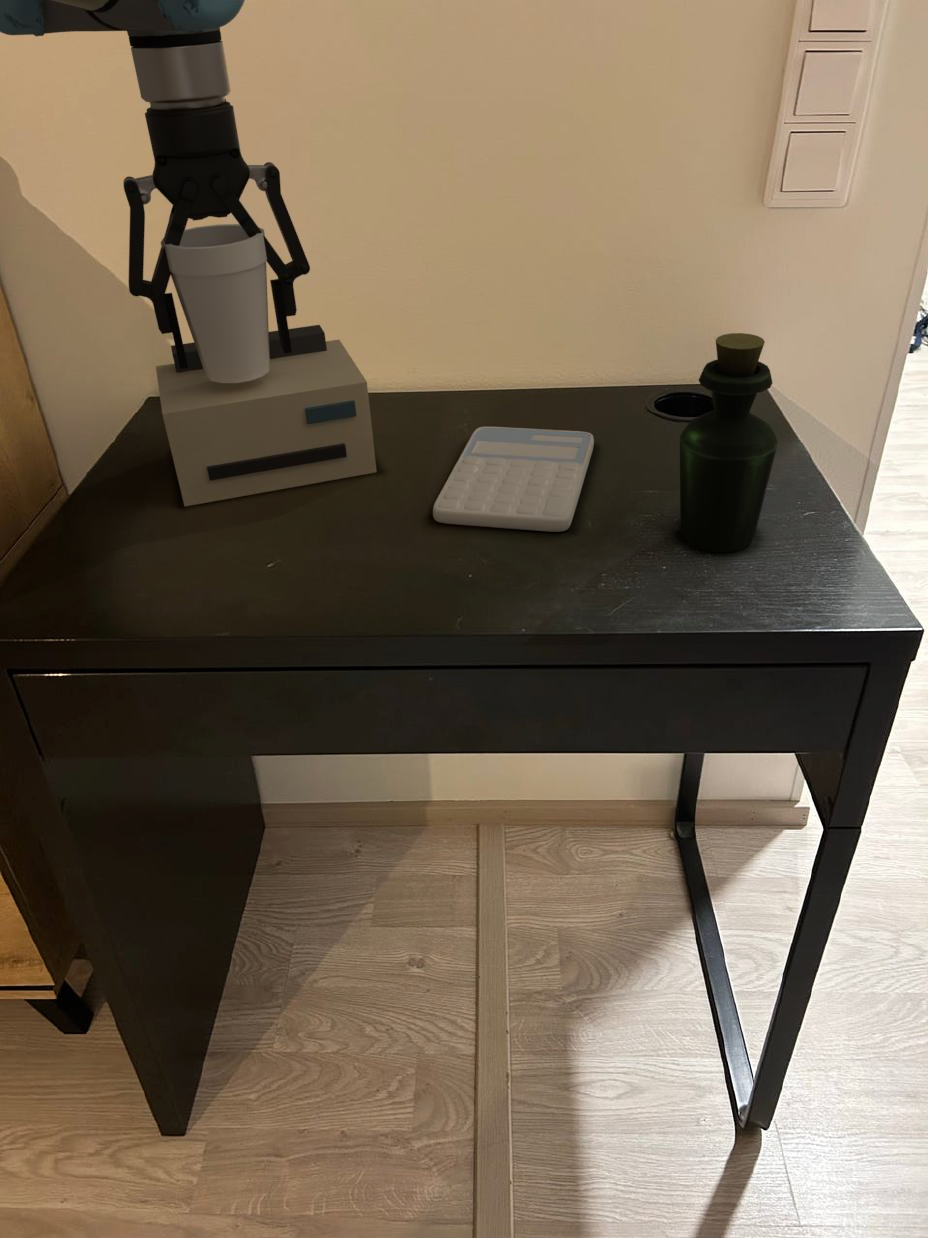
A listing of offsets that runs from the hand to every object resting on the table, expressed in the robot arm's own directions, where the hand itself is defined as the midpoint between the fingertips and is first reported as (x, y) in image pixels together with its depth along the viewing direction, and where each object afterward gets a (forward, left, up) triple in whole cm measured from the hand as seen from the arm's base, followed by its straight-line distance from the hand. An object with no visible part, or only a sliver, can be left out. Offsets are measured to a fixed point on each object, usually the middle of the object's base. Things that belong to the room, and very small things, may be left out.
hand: (235, 356), depth 95 cm
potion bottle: (+38, -30, -13) cm, 50 cm away
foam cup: (0, 0, -2) cm, 2 cm away
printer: (+2, +2, -13) cm, 13 cm away
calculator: (+25, -13, -13) cm, 31 cm away
